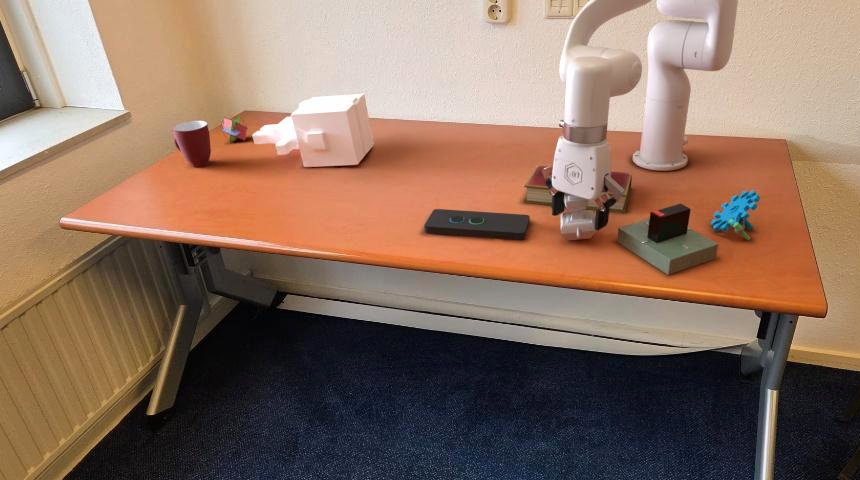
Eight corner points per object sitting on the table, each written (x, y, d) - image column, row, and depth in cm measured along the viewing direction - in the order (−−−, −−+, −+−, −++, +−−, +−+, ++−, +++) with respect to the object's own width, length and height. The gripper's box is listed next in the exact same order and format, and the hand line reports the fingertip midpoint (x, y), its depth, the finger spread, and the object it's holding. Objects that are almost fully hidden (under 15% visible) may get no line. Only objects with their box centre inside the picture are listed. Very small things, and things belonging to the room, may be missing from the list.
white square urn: (561, 227, 131) (557, 188, 127) (595, 223, 130) (592, 184, 126) (561, 248, 123) (557, 207, 119) (597, 244, 122) (594, 203, 118)
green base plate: (616, 242, 125) (617, 227, 123) (662, 227, 129) (664, 213, 127) (667, 275, 114) (670, 259, 112) (716, 258, 118) (719, 242, 116)
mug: (168, 167, 166) (157, 129, 161) (189, 156, 173) (178, 119, 167) (203, 171, 163) (192, 132, 158) (223, 159, 170) (213, 121, 164)
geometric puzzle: (258, 129, 182) (238, 106, 180) (246, 137, 177) (225, 113, 174) (243, 143, 186) (223, 120, 183) (231, 152, 180) (209, 128, 178)
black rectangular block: (676, 227, 122) (680, 202, 119) (686, 233, 120) (691, 207, 117) (647, 237, 119) (650, 211, 117) (656, 243, 117) (660, 216, 115)
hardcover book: (536, 180, 150) (537, 163, 148) (630, 189, 144) (632, 171, 142) (524, 202, 141) (524, 184, 139) (624, 212, 135) (626, 193, 133)
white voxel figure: (286, 145, 182) (383, 139, 177) (246, 180, 162) (354, 176, 156) (272, 91, 175) (372, 84, 169) (228, 122, 154) (340, 114, 148)
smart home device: (434, 207, 136) (530, 213, 132) (434, 215, 137) (530, 221, 133) (423, 225, 130) (524, 232, 125) (423, 233, 130) (524, 241, 126)
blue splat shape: (710, 206, 132) (755, 179, 125) (728, 226, 133) (774, 200, 127) (707, 238, 124) (755, 210, 117) (727, 259, 125) (775, 233, 119)
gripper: (532, 127, 118) (530, 214, 127) (616, 147, 108) (607, 241, 117) (557, 117, 123) (553, 202, 132) (640, 136, 113) (629, 226, 121)
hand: (578, 220), depth 124 cm, fingers open, 9 cm apart
